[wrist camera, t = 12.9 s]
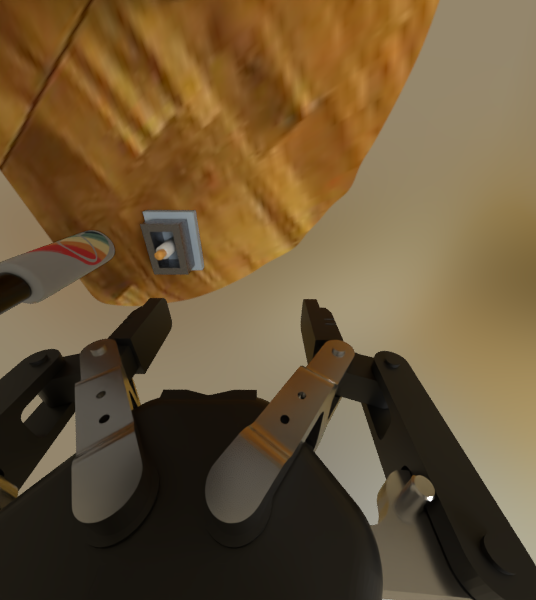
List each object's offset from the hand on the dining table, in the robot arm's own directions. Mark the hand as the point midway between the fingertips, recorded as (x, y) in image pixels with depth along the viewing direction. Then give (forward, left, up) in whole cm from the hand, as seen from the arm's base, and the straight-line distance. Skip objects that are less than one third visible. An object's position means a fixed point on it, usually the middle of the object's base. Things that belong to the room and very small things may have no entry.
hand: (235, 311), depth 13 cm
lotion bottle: (+5, -28, -28) cm, 40 cm away
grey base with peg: (+4, -14, -28) cm, 32 cm away
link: (+4, -14, -27) cm, 30 cm away
